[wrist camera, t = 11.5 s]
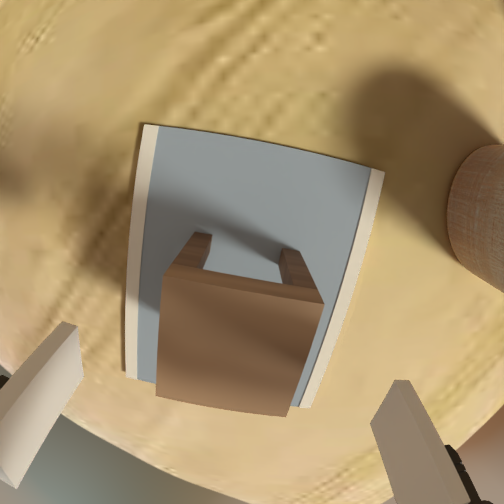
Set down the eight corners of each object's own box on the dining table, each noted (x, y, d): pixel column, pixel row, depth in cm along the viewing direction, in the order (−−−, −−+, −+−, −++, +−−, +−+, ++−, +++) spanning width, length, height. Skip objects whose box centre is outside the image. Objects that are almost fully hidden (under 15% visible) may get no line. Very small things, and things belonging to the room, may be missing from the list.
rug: (146, 124, 19) (144, 124, 19) (382, 171, 20) (385, 172, 20) (127, 373, 25) (126, 376, 24) (309, 404, 26) (309, 408, 25)
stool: (194, 231, 21) (163, 275, 13) (299, 251, 21) (324, 304, 14) (182, 323, 23) (155, 395, 15) (276, 340, 23) (285, 416, 16)
